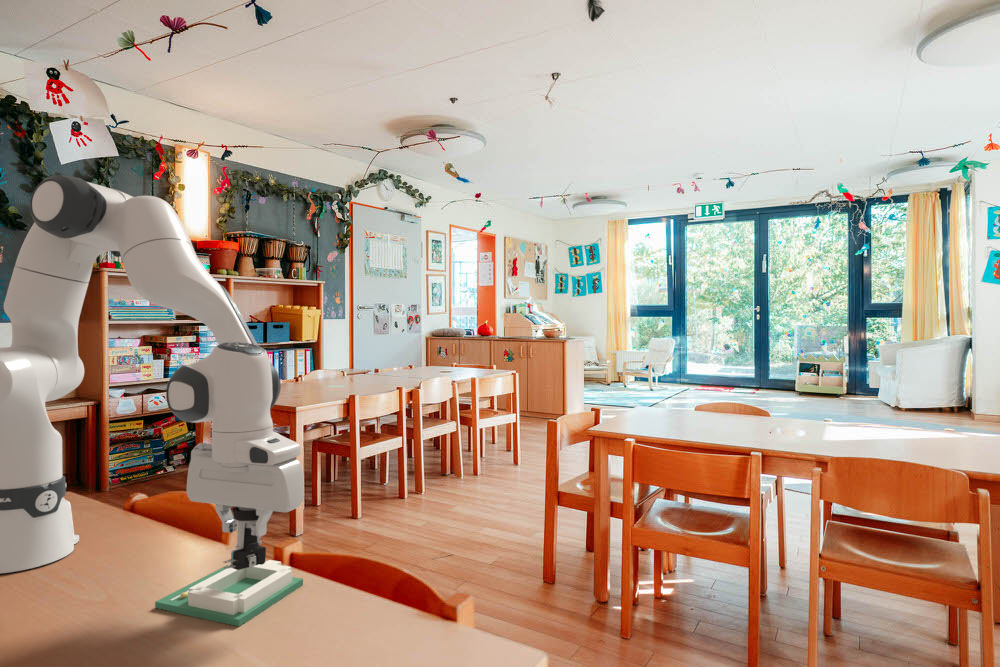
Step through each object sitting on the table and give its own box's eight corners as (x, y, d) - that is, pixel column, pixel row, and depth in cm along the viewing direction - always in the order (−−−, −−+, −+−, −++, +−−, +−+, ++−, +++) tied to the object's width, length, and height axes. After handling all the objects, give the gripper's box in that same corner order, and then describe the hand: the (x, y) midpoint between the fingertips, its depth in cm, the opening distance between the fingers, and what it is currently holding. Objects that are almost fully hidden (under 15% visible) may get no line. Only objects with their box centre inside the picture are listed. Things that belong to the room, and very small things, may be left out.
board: (155, 608, 87) (155, 588, 87) (228, 569, 101) (228, 552, 101) (239, 626, 82) (239, 605, 82) (304, 583, 95) (304, 565, 95)
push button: (232, 576, 86) (237, 508, 87) (213, 568, 89) (218, 503, 90) (272, 565, 92) (276, 501, 92) (253, 558, 95) (256, 496, 95)
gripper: (175, 445, 91) (176, 532, 91) (282, 454, 84) (283, 548, 84) (207, 438, 96) (208, 519, 97) (309, 445, 90) (310, 533, 90)
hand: (244, 533), depth 90 cm, fingers closed on push button, 4 cm apart
